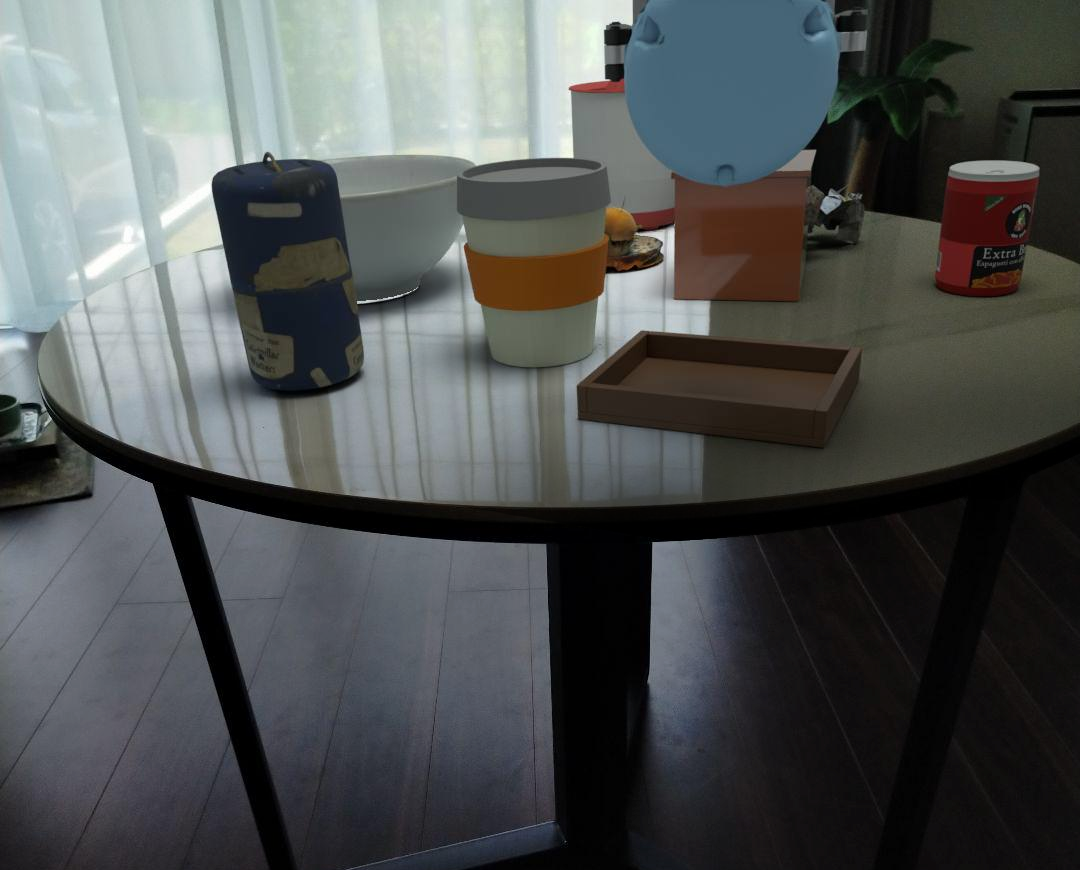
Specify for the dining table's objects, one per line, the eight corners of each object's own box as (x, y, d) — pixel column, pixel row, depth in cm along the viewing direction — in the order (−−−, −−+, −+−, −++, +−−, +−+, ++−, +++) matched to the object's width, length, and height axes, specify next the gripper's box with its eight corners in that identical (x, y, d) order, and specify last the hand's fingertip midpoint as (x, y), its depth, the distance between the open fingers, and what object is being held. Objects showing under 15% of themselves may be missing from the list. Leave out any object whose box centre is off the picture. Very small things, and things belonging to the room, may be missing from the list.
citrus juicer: (703, 209, 137) (707, 48, 128) (679, 236, 123) (681, 57, 113) (594, 209, 142) (590, 53, 132) (559, 235, 128) (551, 63, 118)
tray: (859, 380, 76) (862, 347, 75) (824, 448, 65) (827, 411, 64) (641, 360, 83) (640, 329, 82) (577, 419, 72) (576, 385, 71)
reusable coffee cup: (443, 351, 88) (424, 173, 81) (556, 320, 94) (547, 153, 87) (525, 385, 79) (512, 188, 72) (644, 349, 85) (643, 164, 78)
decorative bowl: (434, 250, 124) (423, 147, 118) (527, 295, 103) (519, 172, 97) (217, 285, 114) (193, 175, 109) (270, 343, 93) (244, 210, 87)
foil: (906, 220, 109) (811, 152, 102) (849, 307, 112) (753, 248, 105) (848, 198, 118) (757, 135, 111) (797, 279, 122) (706, 223, 115)
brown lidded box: (808, 270, 105) (816, 149, 100) (801, 302, 95) (810, 170, 89) (689, 268, 109) (690, 152, 103) (670, 300, 98) (671, 172, 93)
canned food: (977, 302, 92) (996, 177, 86) (915, 284, 98) (929, 166, 93) (1038, 288, 94) (1061, 166, 89) (974, 272, 101) (991, 157, 96)
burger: (645, 245, 120) (645, 180, 117) (678, 266, 110) (679, 196, 106) (549, 255, 118) (545, 190, 115) (573, 278, 108) (570, 207, 104)
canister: (366, 355, 88) (334, 139, 80) (368, 391, 80) (333, 153, 71) (256, 367, 87) (212, 148, 78) (247, 404, 79) (196, 165, 70)
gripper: (520, 146, 51) (581, 102, 70) (952, 131, 47) (889, 88, 67) (510, -22, 47) (577, -20, 67) (977, -53, 43) (903, -41, 63)
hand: (733, 34), depth 67 cm, fingers closed on grey container, 8 cm apart
